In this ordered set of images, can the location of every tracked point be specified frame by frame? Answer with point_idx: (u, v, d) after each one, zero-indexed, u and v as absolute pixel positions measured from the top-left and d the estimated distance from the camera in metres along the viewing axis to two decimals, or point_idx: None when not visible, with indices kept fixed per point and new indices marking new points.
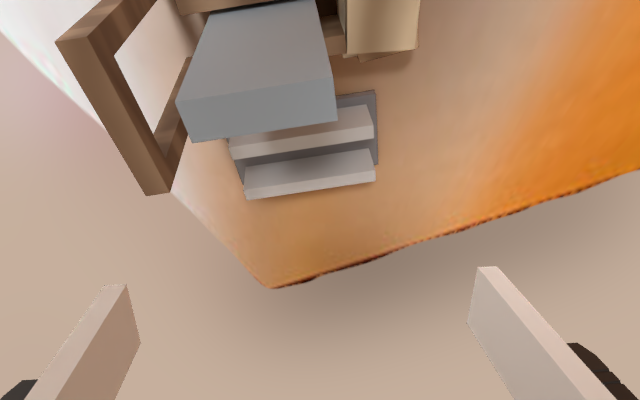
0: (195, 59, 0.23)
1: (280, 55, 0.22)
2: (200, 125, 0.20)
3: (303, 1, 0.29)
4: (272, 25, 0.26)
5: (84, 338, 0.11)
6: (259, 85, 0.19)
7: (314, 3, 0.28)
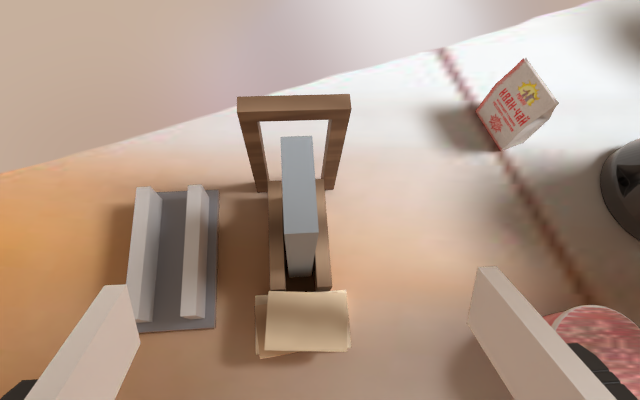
0: None
1: None
2: (293, 145, 0.30)
3: None
4: None
5: (84, 338, 0.11)
6: (315, 186, 0.30)
7: (312, 265, 0.39)
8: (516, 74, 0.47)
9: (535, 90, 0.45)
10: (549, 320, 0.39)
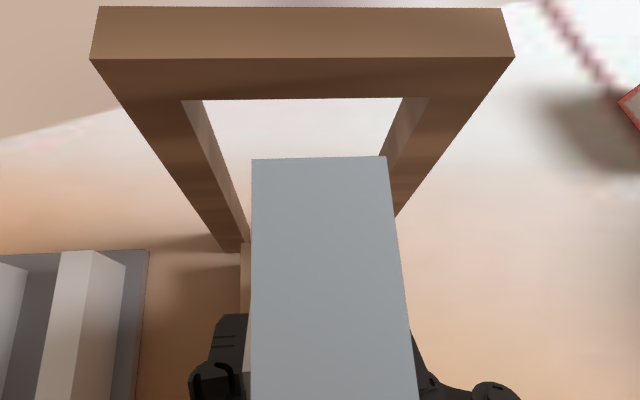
0: None
1: None
2: (309, 198, 0.07)
3: None
4: None
5: None
6: None
7: None
8: None
9: None
10: None
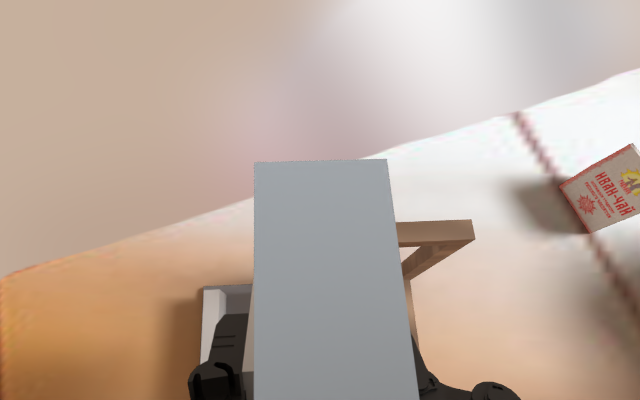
0: None
1: None
2: (311, 201, 0.07)
3: None
4: None
5: None
6: None
7: None
8: (619, 159, 0.42)
9: None
10: None
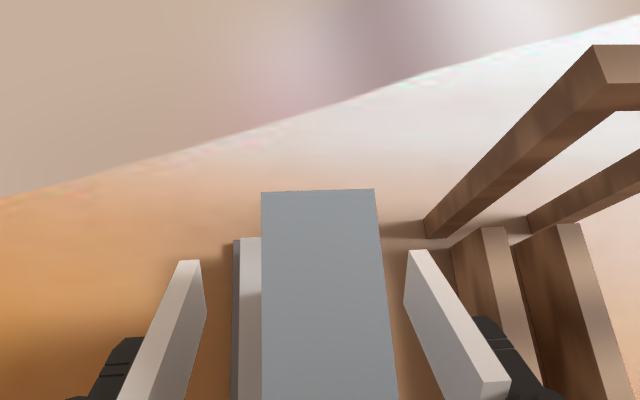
0: None
1: None
2: (309, 225, 0.08)
3: None
4: None
5: (175, 302, 0.13)
6: None
7: None
8: None
9: None
10: None
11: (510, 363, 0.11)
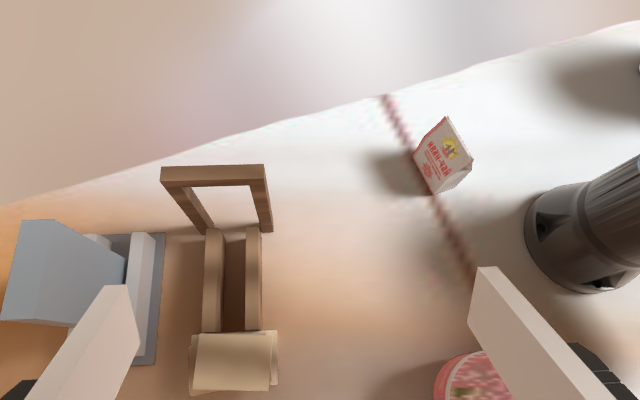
0: (84, 238, 0.37)
1: (66, 290, 0.34)
2: (32, 229, 0.32)
3: None
4: (94, 292, 0.39)
5: (84, 338, 0.11)
6: (45, 270, 0.31)
7: None
8: (440, 130, 0.50)
9: (455, 146, 0.49)
10: (455, 362, 0.43)
11: None
